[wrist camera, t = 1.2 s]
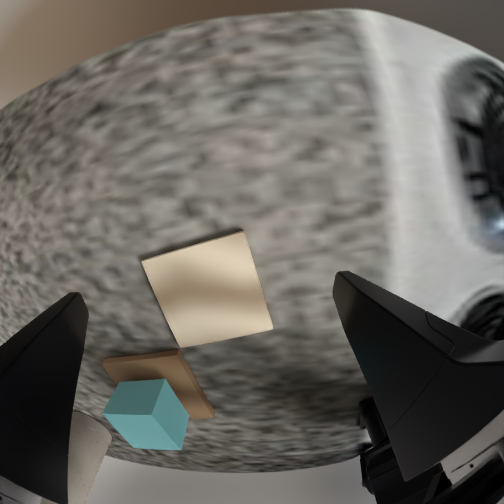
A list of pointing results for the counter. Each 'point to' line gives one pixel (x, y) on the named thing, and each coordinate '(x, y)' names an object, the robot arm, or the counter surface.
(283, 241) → the counter surface
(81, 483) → the thermos bottle
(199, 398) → the post stand
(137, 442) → the teal cube
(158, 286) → the board
